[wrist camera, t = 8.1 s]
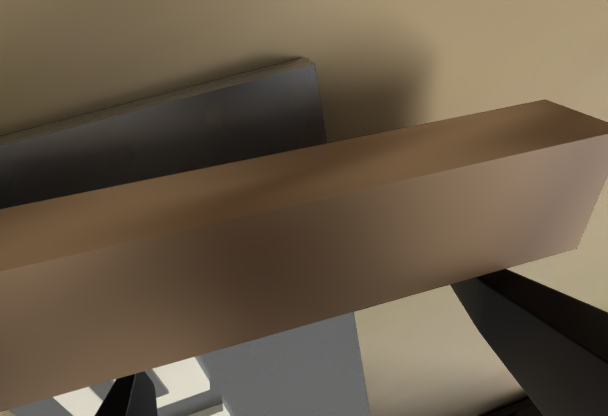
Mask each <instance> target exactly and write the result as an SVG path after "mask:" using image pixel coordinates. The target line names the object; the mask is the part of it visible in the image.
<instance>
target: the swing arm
mask: <svg viewBox="0 0 608 416" xmlns="http://www.w3.org/2000/svg"><path fill="white" fill-rule="evenodd" d="M607 176H608V122H605V121H603V120H600V119H597V118H594V117H592V116H589V115H586V114H583V113H581V112H578V111H575V110H572V109H570V108H567V107H564V106H561V105H559V104H556V103H553V102H550V101H548V100H540V101H535V102H530V103H525V104H520V105H516V106H511V107H506V108H501V109H496V110H491V111H486V112H481V113H476V114H471V115H466V116H461V117H456V118H451V119H446V120H441V121H436V122H431V123H426V124H421V125H416V126H411V127H406V128H401V129H396V130H391V131H386V132H381V133H376V134H372V135H367V136H362V137H357V138H352V139H347V140H342V141H337V142H332V143H327V144H322V145H317V146H312V147H307V148H302V149H297V150H292V151H287V152H282V153H277V154H272V155H267V156H262V157H257V158H252V159H247V160H242V161H237V162H232V163H228V164H223V165H218V166H213V167H208V168H203V169H198V170H193V171H188V172H183V173H178V174H173V175H168V176H163V177H158V178H153V179H148V180H143V181H138V182H133V183H128V184H123V185H118V186H113V187H108V188H103V189H98V190H93V191H88V192H84V193H79V194H74V195H69V196H64V197H59V198H54V199H49V200H44V201H39V202H34V203H29V204H24V205H19V206H14V207H9V208H4V209H0V412H1V411H5V410H8V409H12V408H16V407H19V406H23V405H26V404H30V403H33V402H37V401H40V400H44V399H47V398H51V397H54V396H58V395H61V394H65V393H68V392H72V391H76V390H79V389H83V388H86V387H90V386H93V385H97V384H100V383H104V382H107V381H111V380H114V379H118V378H121V377H125V376H128V375H132V374H136V373H139V372H143V371H146V370H150V369H153V368H157V367H160V366H164V365H167V364H171V363H174V362H178V361H181V360H185V359H188V358H192V357H196V356H199V355H203V354H206V353H210V352H213V351H217V350H220V349H224V348H227V347H231V346H234V345H238V344H241V343H245V342H248V341H252V340H256V339H259V338H263V337H266V336H270V335H273V334H277V333H280V332H284V331H287V330H291V329H294V328H298V327H301V326H305V325H308V324H312V323H316V322H319V321H323V320H326V319H330V318H333V317H337V316H340V315H344V314H347V313H351V312H354V311H358V310H361V309H365V308H368V307H372V306H376V305H379V304H383V303H386V302H390V301H393V300H397V299H400V298H404V297H407V296H411V295H414V294H418V293H421V292H425V291H428V290H432V289H436V288H439V287H443V286H446V285H450V284H453V283H457V282H460V281H464V280H467V279H471V278H474V277H478V276H481V275H485V274H489V273H492V272H496V271H499V270H503V269H506V268H510V267H513V266H517V265H520V264H524V263H527V262H531V261H534V260H538V259H541V258H545V257H549V256H552V255H556V254H559V253H563V252H566V251H570V250H573V249H577V247H578V245H579V242H580V240H581V237H582V235H583V233H584V230H585V228H586V226H587V223H588V221H589V219H590V216H591V214H592V211H593V209H594V207H595V204H596V202H597V200H598V197H599V195H600V193H601V190H602V188H603V185H604V183H605V181H606V178H607Z"/></svg>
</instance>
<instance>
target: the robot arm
mask: <svg viewBox="0 0 608 416" xmlns="http://www.w3.org/2000/svg"><path fill="white" fill-rule="evenodd" d="M450 285H451V287H452V289H453V290H454V292H455V293H456V295H457V297H458V298H459V300H460V302H461V303H462V305H463V306H464V308H465V310H466V311H467V313H468V315H469V316H470V318H471V320H472V321H473V323H474V324H475V326H476V327H477V329H478V330H479V332H480V333H481V335H482V336H483V337H484V339H485V340H486V341H487V343H488V344H489V345H490V347H491V348H492V349H493V350H494V352H495V353H496V354H497V356H498V357H499V358H500V360H501V361H502V362H503V363H504V365H505V366H506V367H507V369H508V370H509V371H510V373H511V374H512V375H513V376H514V378H515V379H516V380H517V382H518V383H519V384H520V386H521V387H522V388H523V390H524V391H525V392H526V393H527V395H528V396H529V397H530V398H528V399H526V400H523V401H521V402H518V403H516V404H513V405H511V406H508V407H506V408H503V409H501V410H498V411H496V412H493V413H491V414H488V415H486V416H608V312H606V311H603V310H601V309H599V308H596V307H594V306H592V305H589V304H587V303H585V302H582V301H580V300H578V299H575V298H573V297H571V296H568V295H566V294H564V293H561V292H559V291H557V290H554V289H552V288H550V287H547V286H545V285H543V284H540V283H538V282H536V281H533V280H531V279H529V278H526V277H524V276H522V275H519V274H517V273H515V272H512V271H510V270H507V269H503V270H499V271H496V272H492V273H489V274H485V275H481V276H478V277H474V278H471V279H467V280H464V281H460V282H457V283H453V284H450ZM95 416H158V413H157V401H156V389H155V385H154V383H153V381H152V380H151V378H150V377H149V376H148V375H147V373H146V372H145V371H143V372H139V373H136V374H132V375H128V376H125V377H121V378H118V379H116V380H115V382H114V384H113V385H112V387H111V389H110V390H109V392H108V394H107V395H106V397H105V399H104V400H103V402H102V404H101V406H100V407H99V409H98V411H97V412H96V414H95Z"/></svg>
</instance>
